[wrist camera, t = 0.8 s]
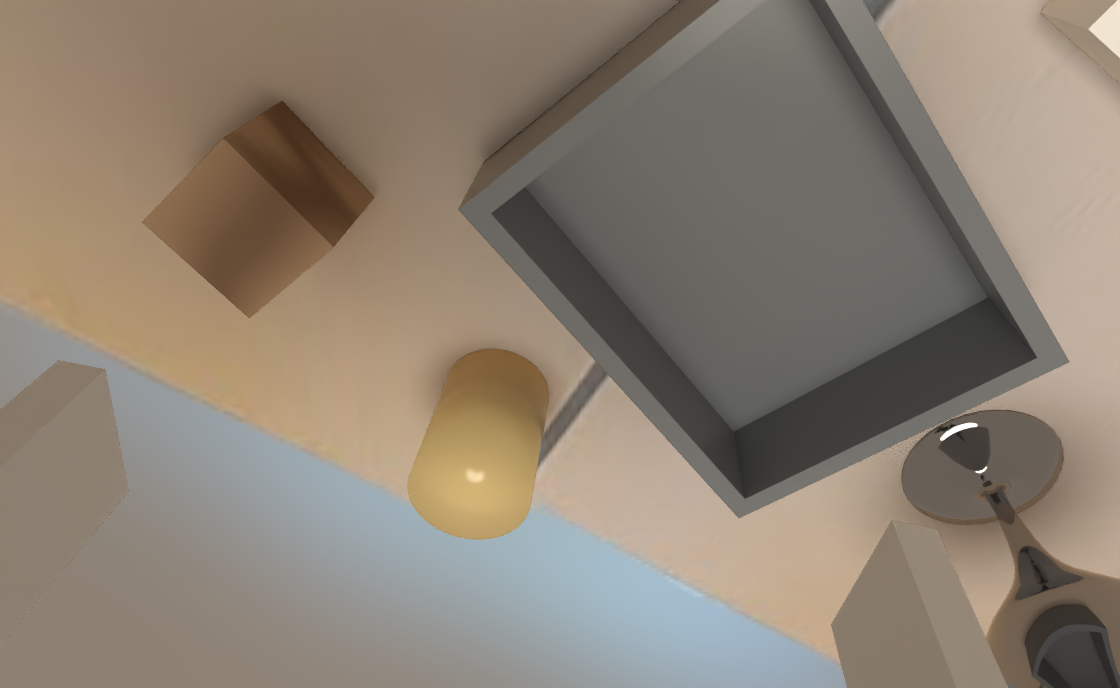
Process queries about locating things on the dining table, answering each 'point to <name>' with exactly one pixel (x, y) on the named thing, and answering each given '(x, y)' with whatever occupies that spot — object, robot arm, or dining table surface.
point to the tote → (764, 244)
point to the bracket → (1090, 29)
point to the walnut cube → (260, 209)
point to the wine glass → (1021, 548)
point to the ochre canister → (482, 446)
